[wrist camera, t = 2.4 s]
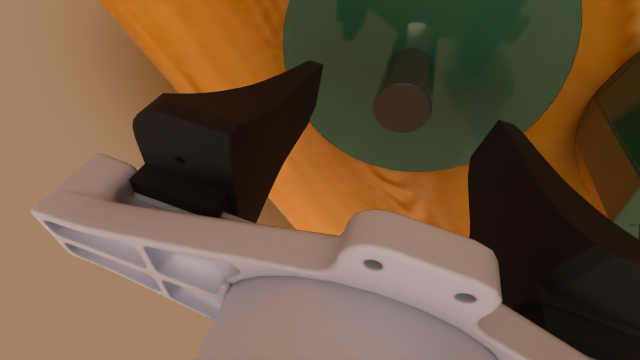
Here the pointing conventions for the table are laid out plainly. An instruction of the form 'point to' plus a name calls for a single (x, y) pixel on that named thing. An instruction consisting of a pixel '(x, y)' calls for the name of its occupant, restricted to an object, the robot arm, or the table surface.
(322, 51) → the lid
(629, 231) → the pot
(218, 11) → the table surface
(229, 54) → the table surface
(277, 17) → the table surface
